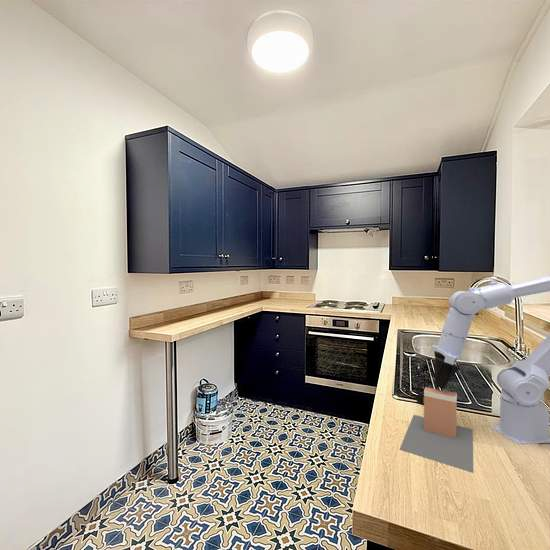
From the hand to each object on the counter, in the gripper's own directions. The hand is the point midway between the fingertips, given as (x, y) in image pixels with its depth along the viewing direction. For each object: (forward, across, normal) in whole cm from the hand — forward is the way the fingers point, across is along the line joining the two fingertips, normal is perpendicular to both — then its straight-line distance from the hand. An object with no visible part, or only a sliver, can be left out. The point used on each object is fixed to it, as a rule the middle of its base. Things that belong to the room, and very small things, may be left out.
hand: (438, 382), depth 80 cm
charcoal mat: (+11, +8, +3) cm, 14 cm away
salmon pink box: (+10, +4, +3) cm, 12 cm away
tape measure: (+11, -12, +1) cm, 17 cm away
